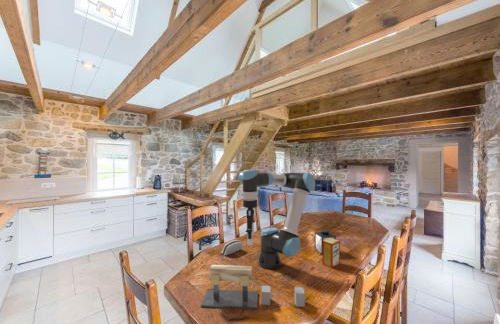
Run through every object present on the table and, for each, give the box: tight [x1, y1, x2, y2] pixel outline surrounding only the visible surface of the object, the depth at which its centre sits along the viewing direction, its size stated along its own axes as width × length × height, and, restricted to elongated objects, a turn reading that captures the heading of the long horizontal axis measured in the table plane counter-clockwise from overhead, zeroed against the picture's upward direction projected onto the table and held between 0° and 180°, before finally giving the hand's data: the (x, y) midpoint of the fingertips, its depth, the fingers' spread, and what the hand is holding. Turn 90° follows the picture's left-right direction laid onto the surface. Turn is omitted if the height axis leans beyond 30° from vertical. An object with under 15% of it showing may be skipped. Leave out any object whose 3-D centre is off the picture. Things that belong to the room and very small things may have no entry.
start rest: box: [261, 285, 306, 308], centre depth 99 cm, size 5×20×6 cm, turn 86°
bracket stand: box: [200, 274, 259, 311], centre depth 101 cm, size 12×26×14 cm, turn 86°
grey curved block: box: [220, 239, 244, 257], centre depth 156 cm, size 17×5×10 cm, turn 133°
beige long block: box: [209, 264, 253, 283], centre depth 101 cm, size 4×20×6 cm, turn 86°
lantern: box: [314, 214, 337, 256], centre depth 159 cm, size 11×11×28 cm
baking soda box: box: [322, 238, 341, 269], centre depth 138 cm, size 10×6×16 cm
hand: (250, 239), depth 109 cm, fingers open, 13 cm apart
